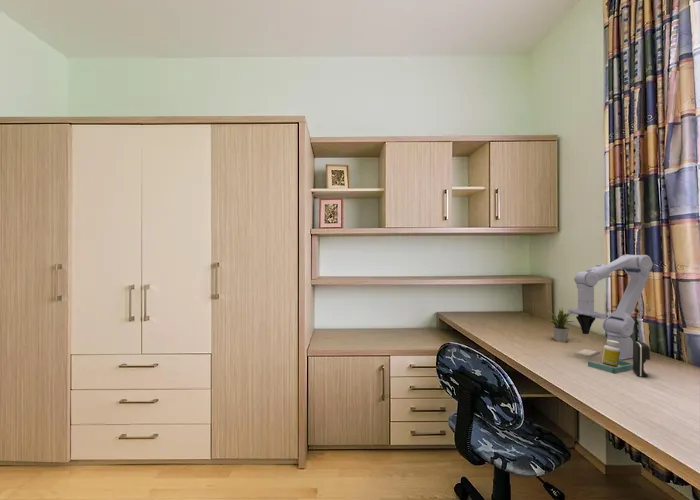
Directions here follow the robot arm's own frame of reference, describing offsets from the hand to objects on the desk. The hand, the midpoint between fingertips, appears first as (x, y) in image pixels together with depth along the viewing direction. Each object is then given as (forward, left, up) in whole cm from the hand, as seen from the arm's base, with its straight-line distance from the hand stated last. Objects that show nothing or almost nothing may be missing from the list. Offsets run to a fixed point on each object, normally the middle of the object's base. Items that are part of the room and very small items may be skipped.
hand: (585, 333), depth 161 cm
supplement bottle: (+2, +11, -10) cm, 15 cm away
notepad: (-8, -4, -10) cm, 14 cm away
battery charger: (+1, +21, -11) cm, 24 cm away
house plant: (-19, -24, -10) cm, 33 cm away
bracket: (+2, +12, -10) cm, 16 cm away
